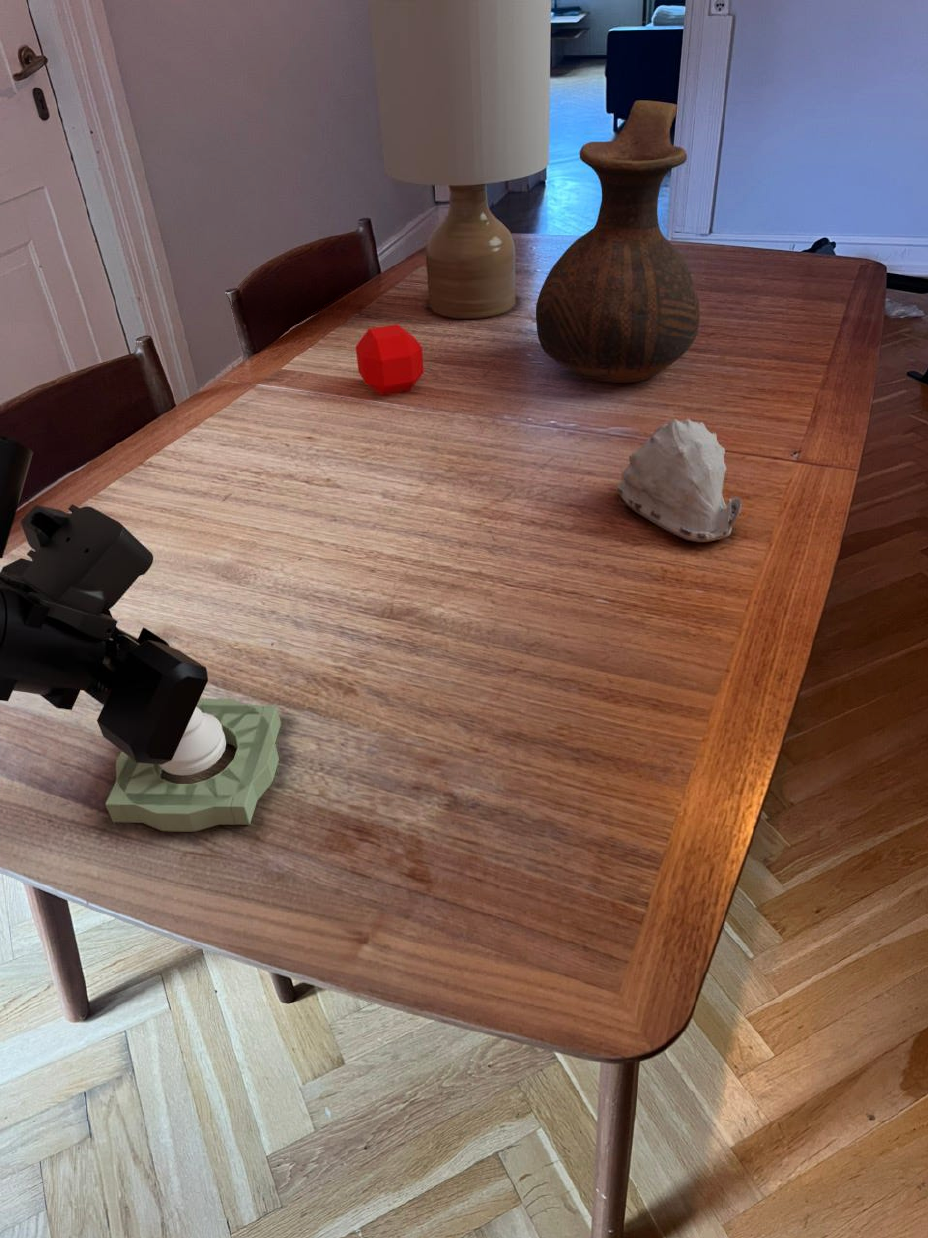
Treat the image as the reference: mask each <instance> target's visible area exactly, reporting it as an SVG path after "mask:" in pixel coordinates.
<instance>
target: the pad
mask: <svg viewBox="0 0 928 1238" xmlns="http://www.w3.org/2000/svg"><path fill="white" fill-rule="evenodd" d="M196 707H198V708H199V709H200V710H201V711H202V713H207V714H210V715H212V716H214V717H215V718H216V719H218V720H219V722H220V723H221V725H222V730H223V732H224V735H225V739H226V744H227V745H231V746H233V747H234V749H236V750H235V753H234V757H233V759H232V760H231V761H230V762H229V763H228V765H226V767H225V768H224V769H223V770H222V771H219V772H218V773H217V774H215V775H213V776H212V777H210V778H208V779H205V780H200V781H197V782H194V783H174V782H172V781H169V780H167V779H164V778H162V776H161V775H162V773H163V771H164V770H163V769H162V768H161V767H160V766H159V764H148V763H137V762H135V761H134V760H133V759H131V758H130V757H129V756H128V755H126V754H125V753H124V752H122V751H121V750H120V751H121V752H120V753H119V755H118V757H117V759H116V761H115V778H116V779H115V783H114V785H113V787H112V789H111V791H110V793H109V795H108V797H107V800H106V801H105V808H106V809H107V812H108V814H109V816H110V819H111V820H112V822H113V823H129V824H130V823H131V824H132V823H133V824H135V823H136V824H137V823H138V824H145V825H147V826H150V827H152V828H154V829H157V830H159V831H161V832H184V833H195V832H199V831H202V830H206V829H209V828H213V827H215V826H219V825H225V826H227V825H230V826H231V825H232V826H235V825H237V826H239V825H240V826H243V825H244V826H249V825H251V823H252V819H253V816H254V813H255V810H256V807H257V803H258V800H259V799H261V798H262V796H263V794H265V792H266V791H267V790H268V789H269V788H270V786H271V785H272V783H273V782H274V778H275V775H276V771H277V770H278V769H277V768H278V765H279V761H280V757H279V752H278V748H277V745H276V742H277V739H278V735H279V732H280V729H281V725H282V722H281V717H280V713H279V709H278V706H277V705H260V704H259V705H257V704H256V705H255V704H254V705H252V704H251V705H249V704H247V703H244V702H240V701H238V700H235V699H232V698H231V699H230V698H200V699H199V702H198V704H197V706H196Z"/></svg>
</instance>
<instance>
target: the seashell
mask: <svg viewBox="0 0 928 1238" xmlns="http://www.w3.org/2000/svg"><path fill="white" fill-rule="evenodd" d="M725 453H726V449H725V448H724V447H723V446H722V445H721V444H720V443H719V442H718V435H717V433H716V432H710V431H709V430H708V428H707V427H706V425H705V423H704V422H702V421H700V422H699V421H698V422H697V421H693V420H692V421H691V419H690V418H689V417H688V418H686V419H682V420H678V419H676V418H673V419H671V420H670V421H669V422H668V423H663V424H661V425H659V426H658V427H657V428H656V429H655V430H654V431H653V432H652V434H651V435H650V437H649V438H647V439H646V440H645V441H644V443H643V444H642V445H641V446H640V448H638V449H637V450H636V451H635V452H633V453H632V454H630V455H629V457H628V459H629V464H628V466H627V467H626V468H625V469H624V470H623V471H622V472H621V478H622V480H621V482H620V483H619V484H617V485H616V491H617V494H618V495H619V496H620V498H621V499H622V501H624V503H626V505H627V506H628V507H629V508H630V509H631V510H633V511H634V512H636V513H637V514H638V515H640V516H641V517H643V518H645V519H647V520H648V521H650V522H652V523H653V524H655V525H656V526H658V527H659V528H662V529H663V530H665V531H668V532H669V533H671V534H673V535H675V536H678V537H679V538H681V539H684V540H687V541H689V542H694V543H707V542H713V541H718V540H723V539H727V538H728V537H729V536H730V535H731V534H732V531H733V524H735V522H736V520H737V519H738V517H739V514H740V512H741V510H742V501H741V497H739V496H736V497H732V498H728V500H727V503H728V504H727V503H726V502H725V500H724V496H723V488H724V483H725V482H724V481H725V476H726V472H727V466H726V464H725Z"/></svg>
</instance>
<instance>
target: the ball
mask: <svg viewBox="0 0 928 1238" xmlns="http://www.w3.org/2000/svg"><path fill="white" fill-rule="evenodd" d="M355 353H356V362H357V369H358V373H359V375H360V377H361V379H362V380H363V381H364V383H365V384H366V385H367V386H368V387H370V388H372V389H373V390H374V391H375V392H377V393H378V394H380V395H381V396H386V395H392V394H397V393H402V392H408V391H409V392H410V391H411V390H412V389H413V388H414V386H415V385H416V384H417V382H418V381H419V380H420V378H421V377H422V376H423V375H424V374H425V367H424V356H423V346H422V345H421V344H420V343H419V341H418V340H417V338H416V337H415V336H414V335H412V334H411V333H409V332H408V331H407V330H406V329H404V328H403V327H402V326H401V325H400V324H398V323H396V324H390V325H389V324H388V325H384V326H383V325H382V326H377V327H371V328H368V329H367V331H365V334H364V335H363V336H362V338H361V339H360V340H359V341H358V343H357V344H356V346H355Z"/></svg>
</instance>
